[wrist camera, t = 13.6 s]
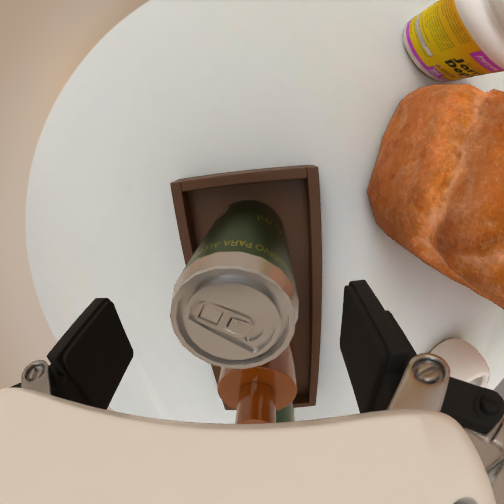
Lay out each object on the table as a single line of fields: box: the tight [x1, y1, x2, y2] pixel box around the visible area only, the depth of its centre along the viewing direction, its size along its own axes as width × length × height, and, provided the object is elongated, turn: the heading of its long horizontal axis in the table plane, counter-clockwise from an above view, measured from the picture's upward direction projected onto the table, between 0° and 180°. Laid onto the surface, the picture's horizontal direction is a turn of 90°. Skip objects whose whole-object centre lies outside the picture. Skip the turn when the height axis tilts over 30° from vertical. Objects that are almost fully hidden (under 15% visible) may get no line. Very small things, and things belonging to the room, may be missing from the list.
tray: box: [170, 165, 322, 410], centre depth 24 cm, size 11×26×2 cm, turn 6°
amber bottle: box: [218, 339, 297, 424], centre depth 19 cm, size 5×5×12 cm
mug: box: [429, 338, 490, 388], centre depth 24 cm, size 12×8×8 cm
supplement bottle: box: [403, 0, 504, 82], centre depth 9 cm, size 7×7×13 cm
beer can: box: [170, 200, 299, 369], centre depth 16 cm, size 5×5×12 cm
